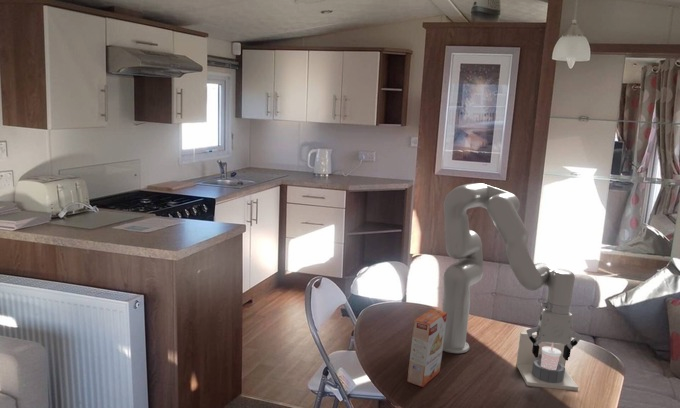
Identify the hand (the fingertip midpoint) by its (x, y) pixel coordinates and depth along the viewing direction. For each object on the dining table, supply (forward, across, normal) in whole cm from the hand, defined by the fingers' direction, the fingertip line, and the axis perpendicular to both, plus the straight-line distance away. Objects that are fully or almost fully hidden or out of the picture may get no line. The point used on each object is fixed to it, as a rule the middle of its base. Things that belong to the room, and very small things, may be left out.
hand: (550, 357), depth 190 cm
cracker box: (+8, -41, -8) cm, 42 cm away
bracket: (+8, 0, +2) cm, 8 cm away
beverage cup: (+7, 0, 0) cm, 7 cm away
